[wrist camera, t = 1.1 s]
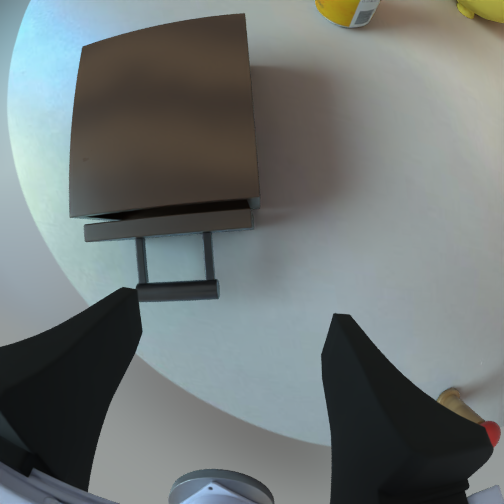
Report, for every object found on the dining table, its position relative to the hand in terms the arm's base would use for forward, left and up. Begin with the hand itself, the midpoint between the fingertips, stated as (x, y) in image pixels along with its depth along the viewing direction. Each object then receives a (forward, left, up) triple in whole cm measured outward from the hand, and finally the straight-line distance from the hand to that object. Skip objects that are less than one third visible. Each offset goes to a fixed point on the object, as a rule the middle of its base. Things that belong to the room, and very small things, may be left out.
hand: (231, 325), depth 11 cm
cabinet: (+5, +12, -15) cm, 20 cm away
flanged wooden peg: (+3, -26, -15) cm, 30 cm away
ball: (+3, -26, -9) cm, 27 cm away
